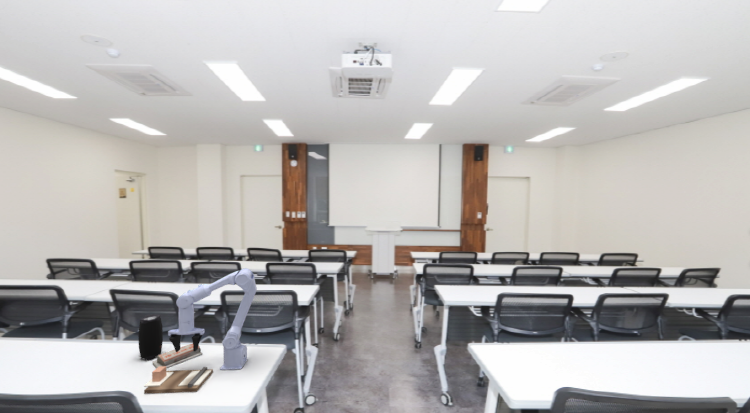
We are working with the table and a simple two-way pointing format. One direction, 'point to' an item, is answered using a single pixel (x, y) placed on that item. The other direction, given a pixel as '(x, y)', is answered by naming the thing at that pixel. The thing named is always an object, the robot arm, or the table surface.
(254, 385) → the table surface
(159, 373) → the stub
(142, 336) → the portable speaker
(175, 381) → the board
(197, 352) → the packaged product
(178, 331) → the robot arm
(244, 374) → the table surface
